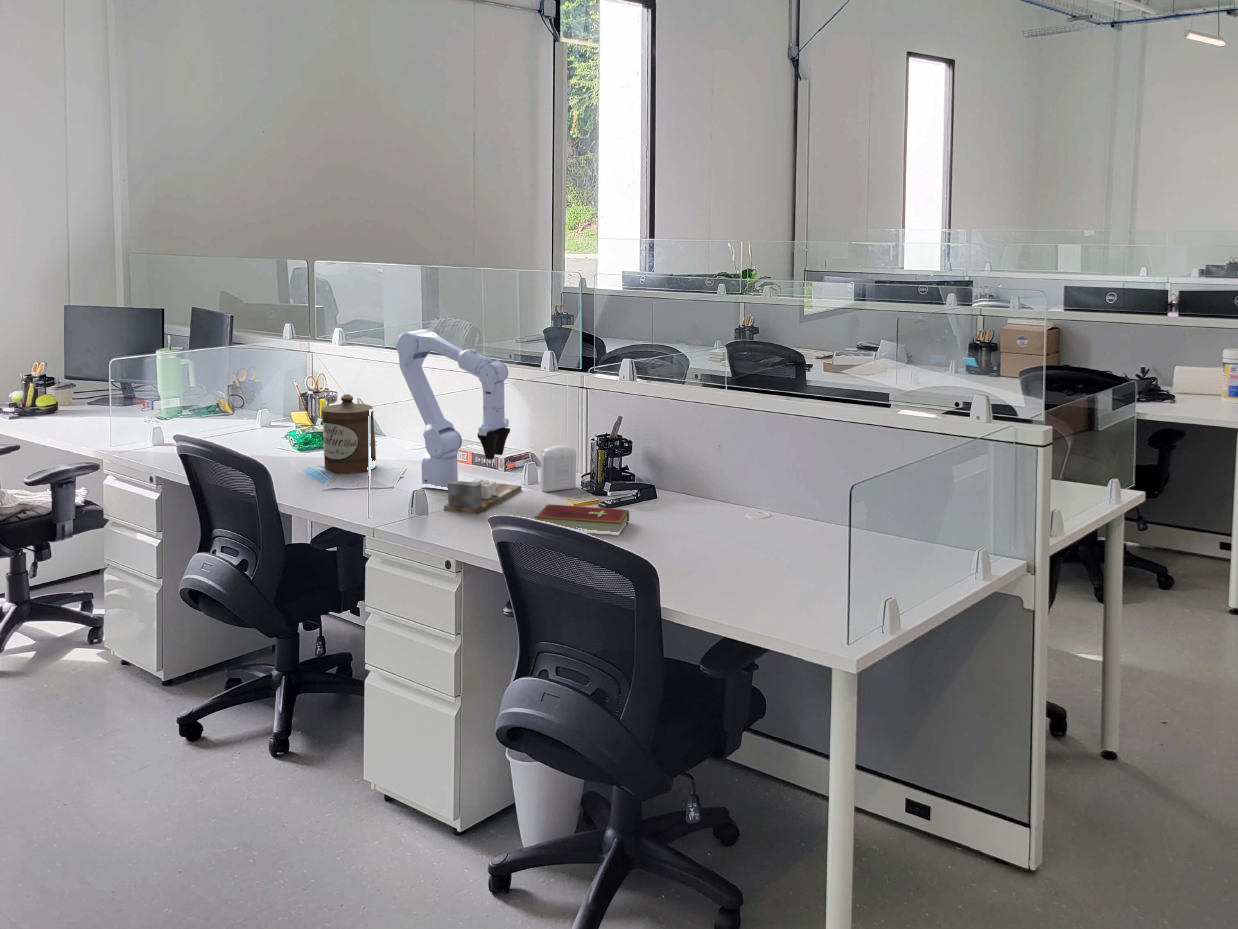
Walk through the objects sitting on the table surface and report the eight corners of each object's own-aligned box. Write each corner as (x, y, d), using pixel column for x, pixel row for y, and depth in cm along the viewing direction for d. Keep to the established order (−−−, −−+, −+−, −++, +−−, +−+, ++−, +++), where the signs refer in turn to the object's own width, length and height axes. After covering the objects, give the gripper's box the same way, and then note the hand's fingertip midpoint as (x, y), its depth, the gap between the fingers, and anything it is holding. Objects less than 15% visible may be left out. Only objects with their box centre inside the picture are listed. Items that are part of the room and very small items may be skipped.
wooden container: (314, 469, 317) (310, 395, 312) (349, 459, 329) (346, 388, 324) (352, 476, 310) (348, 400, 305) (386, 466, 322) (384, 393, 317)
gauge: (461, 499, 282) (461, 484, 281) (475, 492, 289) (475, 477, 288) (488, 502, 279) (488, 487, 278) (502, 495, 286) (501, 480, 285)
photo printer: (570, 485, 304) (570, 442, 301) (578, 488, 301) (578, 445, 298) (538, 489, 298) (538, 446, 296) (546, 493, 295) (546, 449, 292)
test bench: (443, 510, 277) (443, 483, 275) (488, 486, 301) (488, 461, 299) (479, 514, 274) (478, 487, 272) (521, 490, 298) (521, 464, 296)
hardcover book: (547, 518, 273) (547, 502, 272) (628, 524, 269) (629, 508, 268) (534, 532, 261) (534, 515, 260) (620, 538, 258) (620, 521, 257)
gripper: (495, 412, 280) (496, 463, 283) (518, 403, 293) (518, 452, 296) (471, 410, 282) (471, 461, 285) (495, 401, 295) (495, 450, 299)
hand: (494, 456), depth 291 cm, fingers open, 5 cm apart
